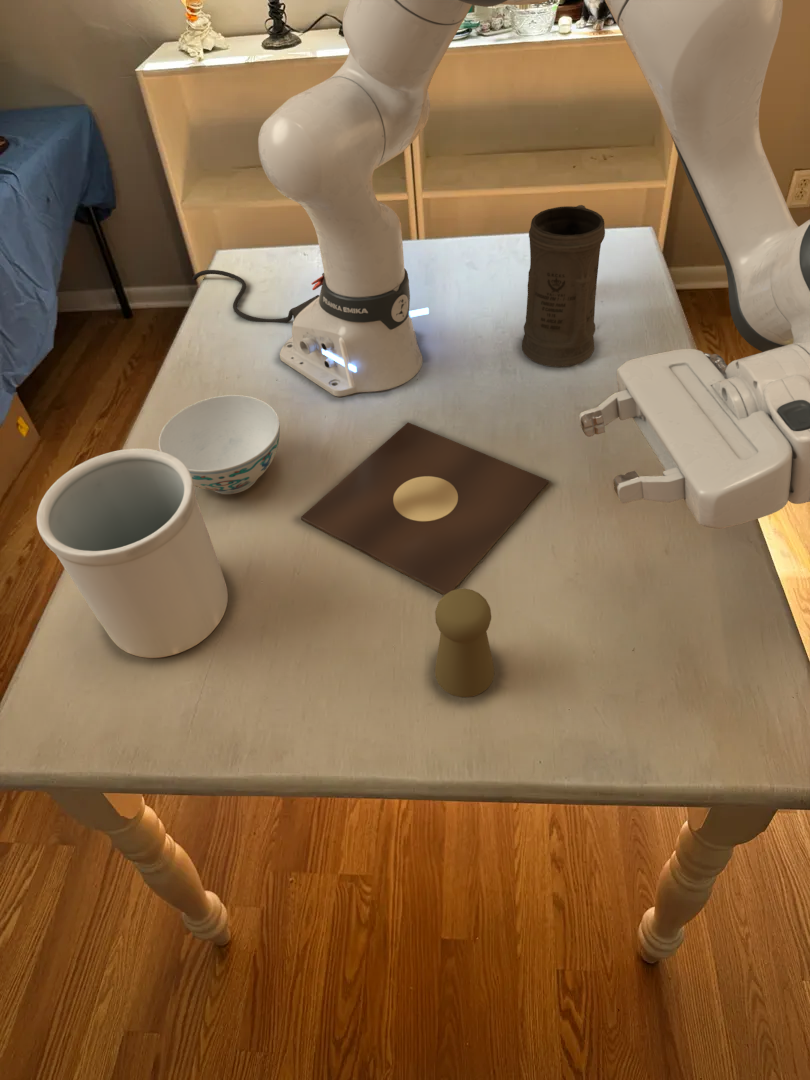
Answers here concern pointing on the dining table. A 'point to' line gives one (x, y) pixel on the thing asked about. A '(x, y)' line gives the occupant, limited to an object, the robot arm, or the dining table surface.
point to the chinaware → (223, 441)
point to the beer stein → (562, 285)
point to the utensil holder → (137, 549)
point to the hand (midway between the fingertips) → (598, 456)
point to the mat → (426, 506)
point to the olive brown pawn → (463, 643)
